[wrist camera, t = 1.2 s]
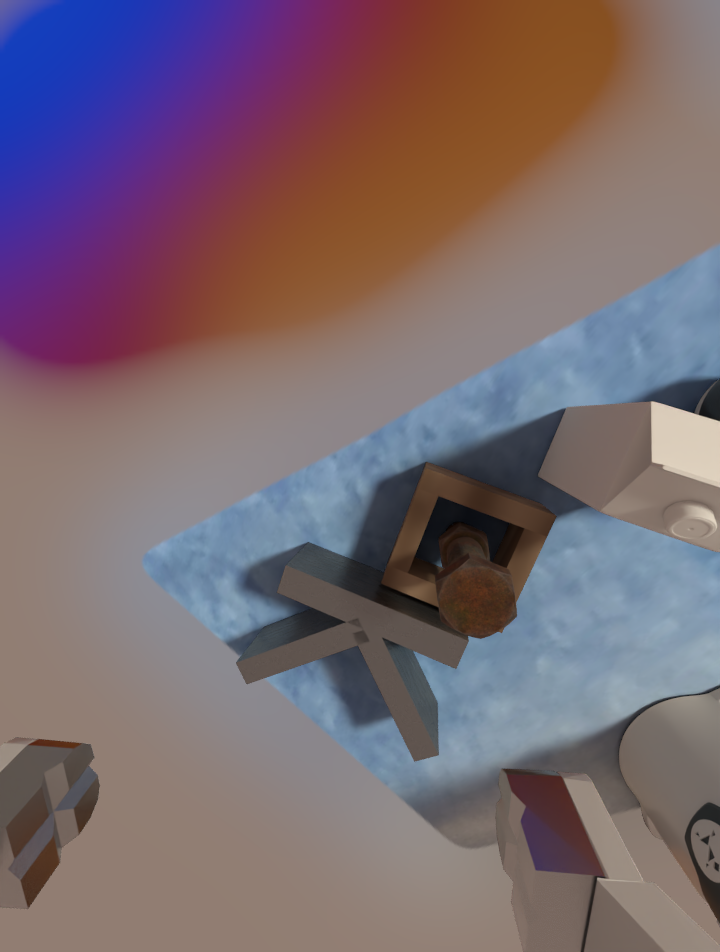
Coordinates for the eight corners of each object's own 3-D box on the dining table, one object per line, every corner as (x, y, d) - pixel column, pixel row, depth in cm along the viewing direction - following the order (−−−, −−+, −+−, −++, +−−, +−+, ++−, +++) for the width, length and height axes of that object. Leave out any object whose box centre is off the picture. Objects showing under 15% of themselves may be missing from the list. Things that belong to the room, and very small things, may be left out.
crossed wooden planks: (478, 611, 42) (487, 649, 35) (431, 715, 45) (431, 769, 38) (293, 536, 44) (268, 557, 37) (260, 639, 47) (231, 677, 40)
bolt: (452, 569, 42) (464, 653, 27) (422, 532, 42) (418, 595, 27) (499, 538, 40) (537, 607, 26) (468, 500, 40) (488, 547, 26)
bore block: (541, 503, 39) (556, 516, 34) (493, 607, 41) (501, 633, 37) (426, 461, 40) (425, 468, 36) (386, 564, 43) (380, 583, 38)
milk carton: (565, 406, 37) (696, 397, 19) (642, 430, 36) (858, 445, 18) (536, 476, 39) (631, 531, 20) (609, 500, 38) (777, 581, 19)
